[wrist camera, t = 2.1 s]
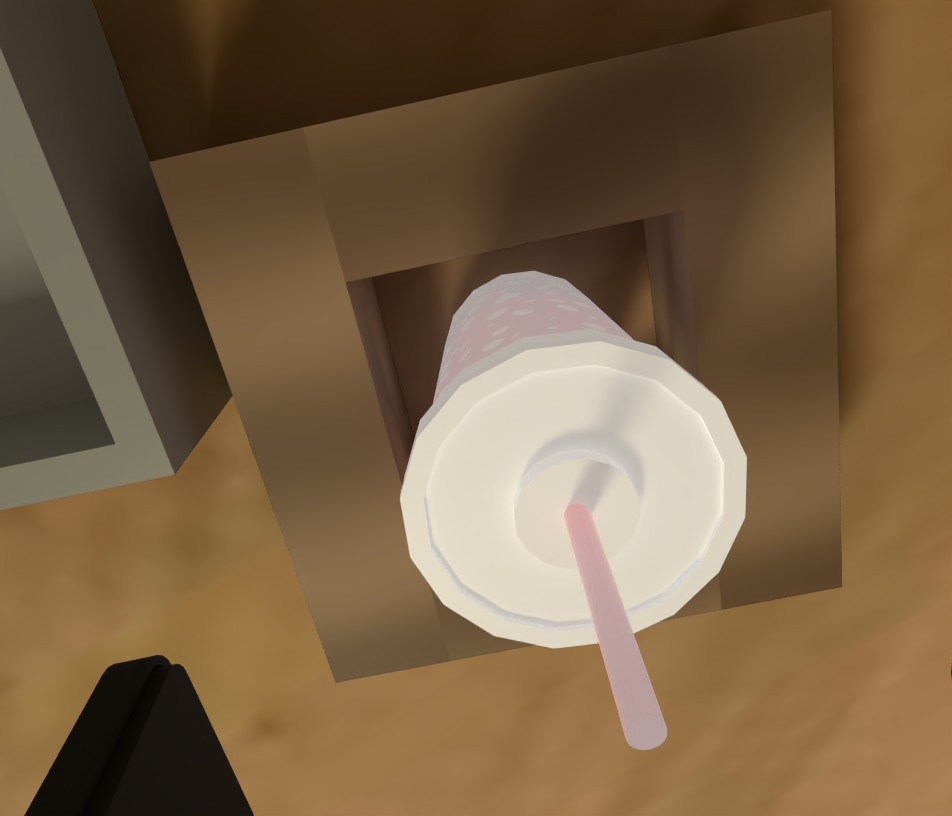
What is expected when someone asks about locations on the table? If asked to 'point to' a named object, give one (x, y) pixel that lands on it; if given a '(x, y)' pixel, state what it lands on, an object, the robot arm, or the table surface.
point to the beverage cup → (570, 481)
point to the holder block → (511, 224)
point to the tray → (88, 275)
